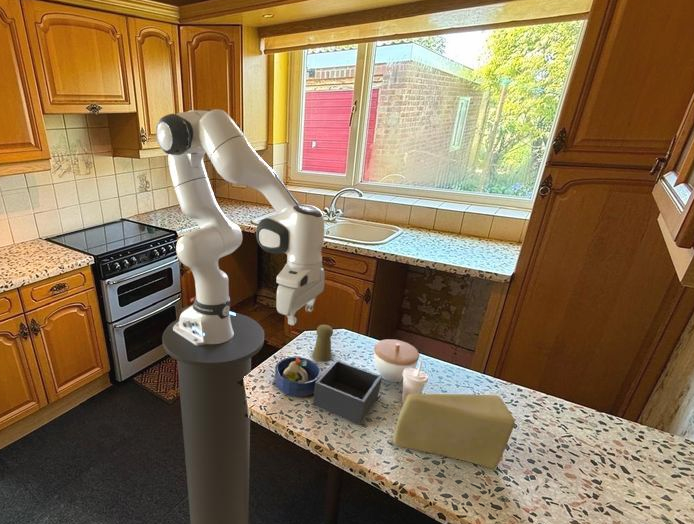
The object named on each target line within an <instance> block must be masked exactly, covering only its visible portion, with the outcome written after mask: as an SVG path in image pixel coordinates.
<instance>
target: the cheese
mask: <svg viewBox="0 0 694 524" xmlns="http://www.w3.org/2000/svg"><path fill="white" fill-rule="evenodd" d="M515 424H516V420H515V418H514V416H513V414H512V412H510V410H509V408H508V407H507V405H506V404H505V401H504V400H503V399H502V398H501V396H499V395H498V394H475V393H474V394H473V393H470V394H469V393H421V394H409V395H408V396H407V397H406V399H405V402H404V404H403V403H402V408H401V409H400V412H399V414H398V418H397V420H396V424H395V429H394V433H393V438H392V442H393V444H394V446H397V447H401V448H404V449H405V448H406V449H410V450H415V451H418V452H423V453H424V452H425V453H429V454H433V455H437V456H441V457H447V458H451V459H456V460H459V461H463V462H467V463H471V464H475V465H478V466H482V467H485V468H490V469H494V470H495V469H497V468H498V466H499V463H500V461H501V459H502V457H503V454H504V452H505V449H506V447H507V445H508V442H509V440H510V437H511V435H512V432H513V430H514V427H515Z"/></svg>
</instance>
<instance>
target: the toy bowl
mask: <svg viewBox="0 0 694 524" xmlns="http://www.w3.org/2000/svg"><path fill="white" fill-rule="evenodd" d="M296 357H297V358H298V359H299V360H300V361H302V360H306V363H307V364H306V366H301V368H303V369H304V370H305V371H306V372H307V375H308V380H307V382H298V381H301V380H302V379H303V377H302V375H301V374H300V373H298V377H299V379H297V380H296V382H294V381H290V380H287V379H285V378H284V377H283V372H284V370H285V369H286V368H288V367H289V365H290V363H291V362H294V361H295V362H296ZM296 357H295V356H290V357H285V358H282V359H281V360H279V361H278V362H277V363H276V365H275V368H274V384H275V386H276V388H277V390H279V391H280V392H281V393H283V394H285V395H286V396H287V395H288V396H290V397H296V398H303V397H309V396H312V395H314V389H315V382H316V381H317V380H318V379H319V378H320V377H321V376H322V369H321V367H320V366H319V364H318V363H316V362H315V361H314V360H311V359H308V358H306V357H302V356H296Z"/></svg>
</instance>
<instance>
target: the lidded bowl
mask: <svg viewBox="0 0 694 524" xmlns="http://www.w3.org/2000/svg"><path fill="white" fill-rule="evenodd" d="M419 359H420V352H419V350H418V349H417V348H416V347H415V346H414V345H412V344H410V343H408V342H405V341H403V340H399V339H391V338H390V339H389V338H388V339H382V340H379V341H377V342H376V343H375V344H374V347H373V365H374V368H375V370H376V372H377V374H378V375H380V376H382V379H384V380H385V381H388V382H391V383H399V382H403V378H404V377H403V371H404V370H405V369H407V368H417V364H418V361H419Z"/></svg>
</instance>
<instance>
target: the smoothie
mask: <svg viewBox="0 0 694 524" xmlns="http://www.w3.org/2000/svg"><path fill="white" fill-rule="evenodd" d="M422 365H423V361H422V360H420V361H419V364H418V368H417V367H415V368H407V369H405V370H404V371H403V377H404V378H403V380H402V392H401V393H402V395H401V403H402V405H403V404H404V402H405V399H406V397H407V396H408V395H409V394H422V392H423V390H424V388H425V385H426V384H427V383H428V382H429V375H428V373H427V372H426V371H424V370H422V369H421V368H422Z"/></svg>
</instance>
